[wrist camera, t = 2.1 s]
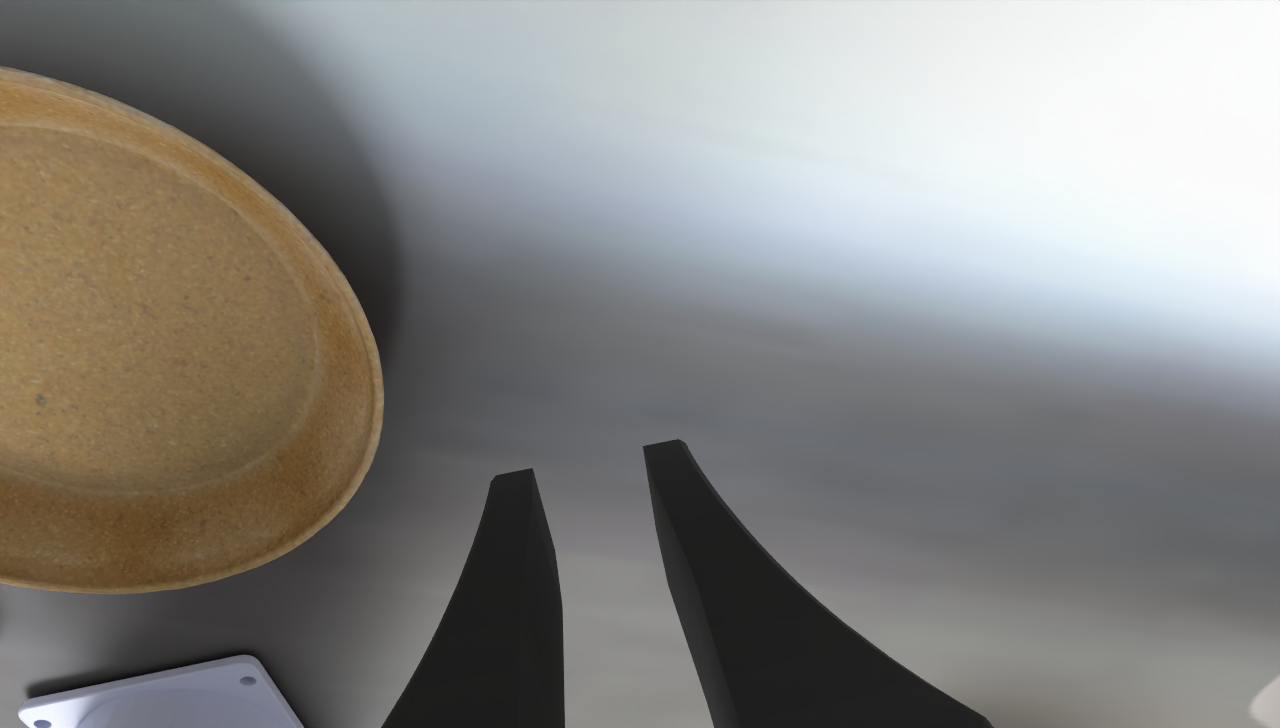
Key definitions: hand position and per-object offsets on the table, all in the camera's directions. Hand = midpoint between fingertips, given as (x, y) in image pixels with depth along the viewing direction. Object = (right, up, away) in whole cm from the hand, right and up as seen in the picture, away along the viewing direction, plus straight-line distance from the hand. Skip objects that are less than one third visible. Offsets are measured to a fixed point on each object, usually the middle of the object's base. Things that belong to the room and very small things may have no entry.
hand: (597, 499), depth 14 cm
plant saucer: (-13, +3, +7) cm, 16 cm away
